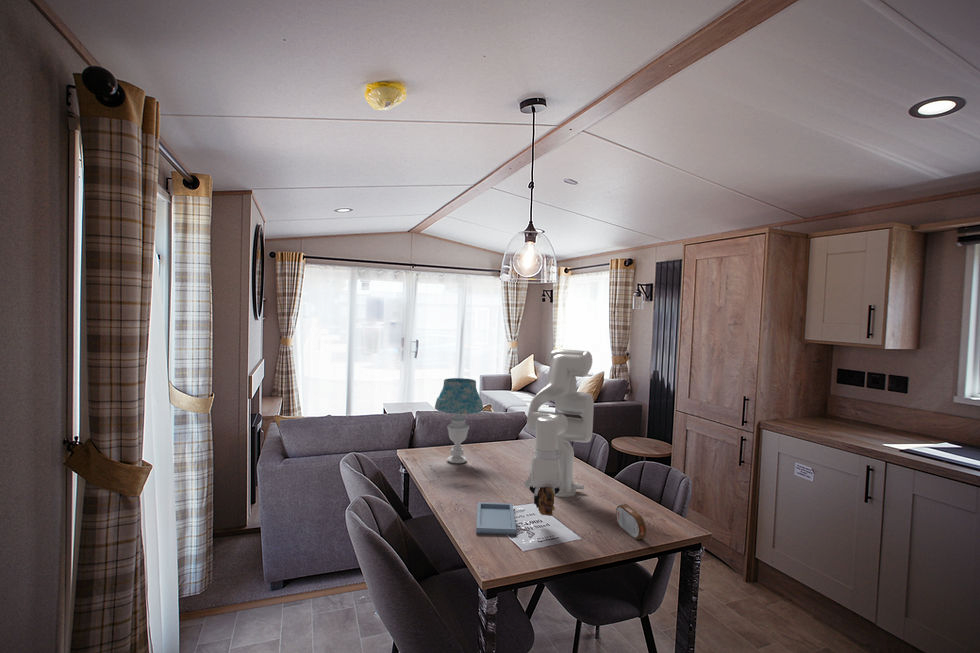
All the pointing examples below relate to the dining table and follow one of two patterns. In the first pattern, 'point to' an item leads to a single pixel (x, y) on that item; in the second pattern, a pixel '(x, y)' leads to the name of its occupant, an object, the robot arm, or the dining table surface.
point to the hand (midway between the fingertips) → (543, 505)
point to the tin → (631, 521)
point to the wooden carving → (546, 501)
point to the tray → (495, 518)
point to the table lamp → (458, 411)
